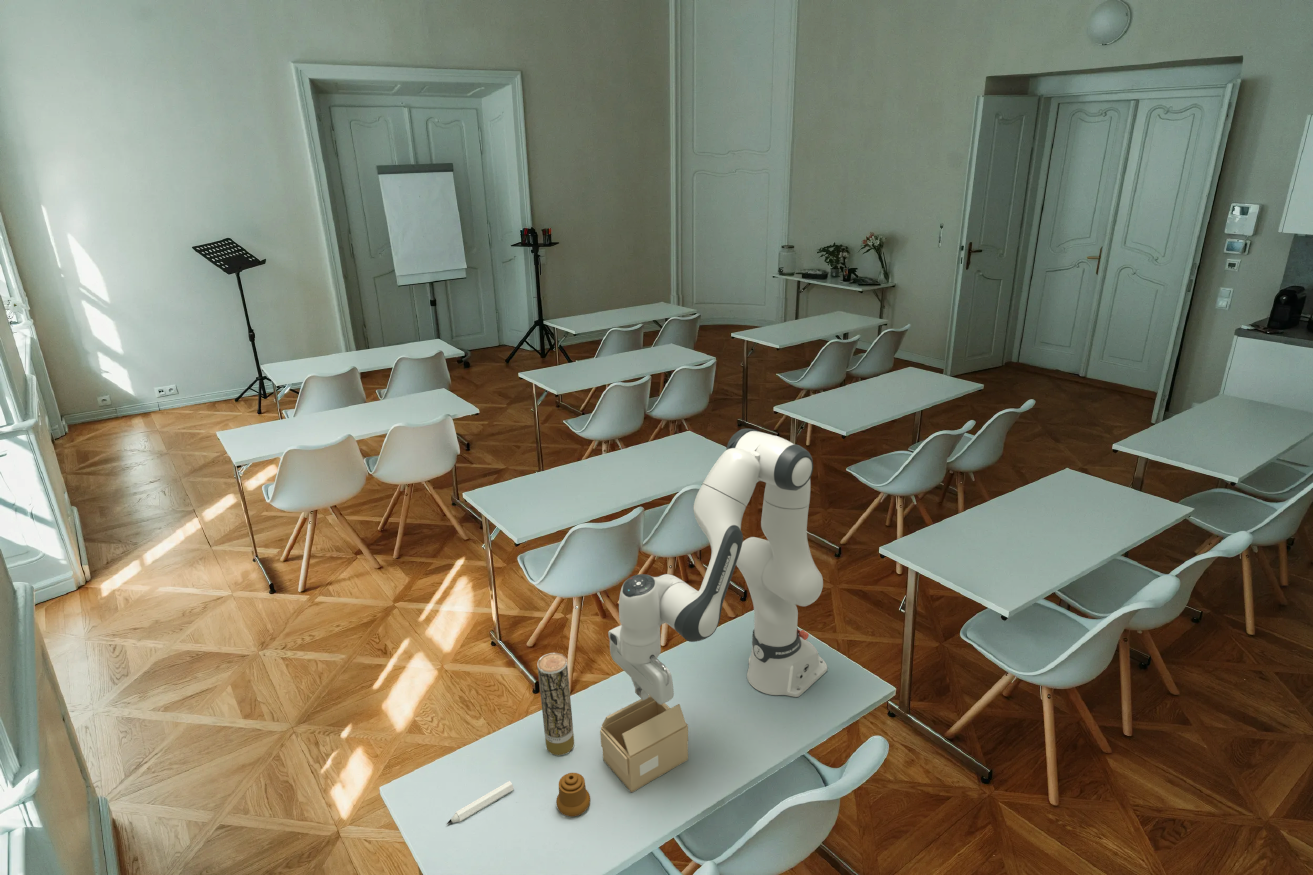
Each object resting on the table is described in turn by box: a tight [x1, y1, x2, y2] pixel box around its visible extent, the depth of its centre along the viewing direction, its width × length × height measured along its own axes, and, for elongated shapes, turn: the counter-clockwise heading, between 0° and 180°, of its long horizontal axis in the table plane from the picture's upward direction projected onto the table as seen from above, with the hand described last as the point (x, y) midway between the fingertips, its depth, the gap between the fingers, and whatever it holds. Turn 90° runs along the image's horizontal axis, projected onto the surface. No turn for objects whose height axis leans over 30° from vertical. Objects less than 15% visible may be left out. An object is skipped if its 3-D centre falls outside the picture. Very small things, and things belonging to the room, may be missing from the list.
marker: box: [446, 780, 515, 825], centre depth 171 cm, size 3×2×16 cm
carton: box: [599, 700, 689, 793], centre depth 180 cm, size 17×12×10 cm
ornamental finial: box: [555, 772, 591, 818], centre depth 169 cm, size 8×8×8 cm
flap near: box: [622, 703, 687, 756], centre depth 174 cm, size 16×1×5 cm, turn 125°
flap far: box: [601, 695, 654, 727], centre depth 181 cm, size 16×1×5 cm
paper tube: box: [536, 652, 575, 756], centre depth 182 cm, size 7×7×25 cm
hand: (641, 695), depth 175 cm, fingers closed
